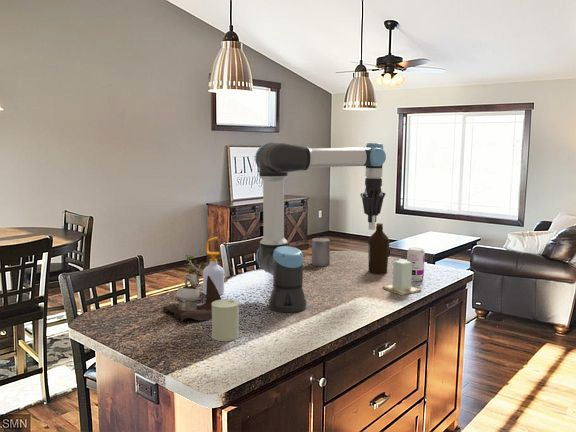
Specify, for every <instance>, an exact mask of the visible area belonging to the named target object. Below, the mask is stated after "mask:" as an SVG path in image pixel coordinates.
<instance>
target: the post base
mask: <svg viewBox="0 0 576 432" xmlns="http://www.w3.org/2000/svg"><path fill="white" fill-rule="evenodd" d="M392 286H393V284H389V285H383V286H382V289H384V290H386V291H388V292H391V293H393V292H394V294H396V293H397V294H396V295H400V296H404V294H405V295H410V294H409V293H411V294H415V293H414V292H416V293H421V292H422V289H421V288H417V287H416V286H412V285H411V289H406V290H399V289H396V288H394V287H392ZM420 291H421V292H420Z"/></svg>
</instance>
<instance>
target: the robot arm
mask: <svg viewBox="0 0 576 432" xmlns="http://www.w3.org/2000/svg"><path fill="white" fill-rule="evenodd" d="M386 158H387V154H386V152H385V150H384V144H383V143H381V142H379V143H378V142H367V143H366V146H364V147H363V146H362V147H361V146H359V147H357V146H347V147H320V148H319V147H317V148H315V147H313V148H311V147H309V146H307V145H298V144H296V145H295V144H292V143H291V144H290V143H285V142H268V143H264V144H262V145H261V146H259V148H258V149H257V150H256V153H255V155H254V162H255V164H256V166H257V168H258V170H259V171H258V177H259V178H260V179H261V180H262V199H263V201H262V205H263V207H262V209H263V210H262V211H263V213H262V215H263V216H262V217H263V218H262V219H263V220H262V221H263V226H262V227H263V237H262V239H261V240H260V241H259V248H258V249H257V251H256V254H255V257H256V263H257V265H258V266H259V267H260V268H261V269H262V270H263V271H264V272H265V273H269V274H271V275H272V278H273V279H272V282H273V283H272V290H271V293H270V297H269V299H268V308H269V309H270V310H272V311H274V312H279V313H297V312H302V311H305V310H306V309H307V300H306V298H305V291H304V289H303V278H304V277H303V275H304V254H303V251H301V250H300V249H299V248H297V247H295V246H294V247H292V246H289V245H288V243H289V242H288V240H287V239H286V238H285V180H286V179H287V178H288V173H291V172H301V171H308V170H309V168H339V167H341V168H342V167H343V168H344V167H365V174H364V175H365V178H364V179H365V180H364V186H365V189H364V192H362V193H360V197H361V201H362V206H363V214H365V215H367V222H368V230H370V231H376V222H377V216H379V215H380V214H381V211H382V206H383V203H384V198H385V196H386V192H384V191H382V186H383V179H382V178H383V164H384V163H385V162H386Z"/></svg>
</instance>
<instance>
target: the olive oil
mask: <svg viewBox="0 0 576 432" xmlns="http://www.w3.org/2000/svg"><path fill="white" fill-rule="evenodd" d="M367 248H368V251H367V252H368V253H367V255H368V258H367V259H368V271H367V272H369V273H371V274H374V275H375V274H376V275H377V274H378V275H384V274H387V272H388V264H389V261H388V260H389V252H390V251H389V250H390V238H389V237H388V236H387V235H386V233H385V232H384V226H383V223H380V222H379V223H375V230H374V232H373V233H372V235H370V237H369V238H368V243H367Z"/></svg>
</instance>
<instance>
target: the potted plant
mask: <svg viewBox="0 0 576 432" xmlns="http://www.w3.org/2000/svg"><path fill="white" fill-rule="evenodd" d="M185 257H186V258H185V259H184V261H186V263H184V264H183V266H186V269H187V271H188V272H189V273H185V274H184V278H185V279H184V286H182V287H178V288H177V292H176V296H175V300H177V301H178V302H179V303H178V304H174V303H173V304H168V305H165V306H164V307H162V311H163V312H164V314H166V313H167V312H170V314H173V315H174V317H175V319H176V320H179V323H180V324H183V321H184V320H186V319H193V320H195V321H210V320H212V302H214V301H216V300H222V298H221V295H219V292H218V290H217V289H216V286H215V285H214V283H213V282H212V280H211V278H210V276H207V288H206V290H207V291H206V295H205V298H206V299H205V302H204V303H203V305H198V303H199V302H200V300H201V299H200V296H201V295H200V289H199V288H197V287H198V285H200V277H203V274H202V272H201V268H203V267H207V265H206V263H205V262H202V261H201V262H200V264H199V265H198V268H197V267H196V266H195V265H197V264H198V260H193V263H192V259H195V256H194V255H191V254H185ZM187 262H188V263H187ZM193 273H194V274H193ZM192 274H193V275H192ZM188 281H189V284H190V285H188Z"/></svg>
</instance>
